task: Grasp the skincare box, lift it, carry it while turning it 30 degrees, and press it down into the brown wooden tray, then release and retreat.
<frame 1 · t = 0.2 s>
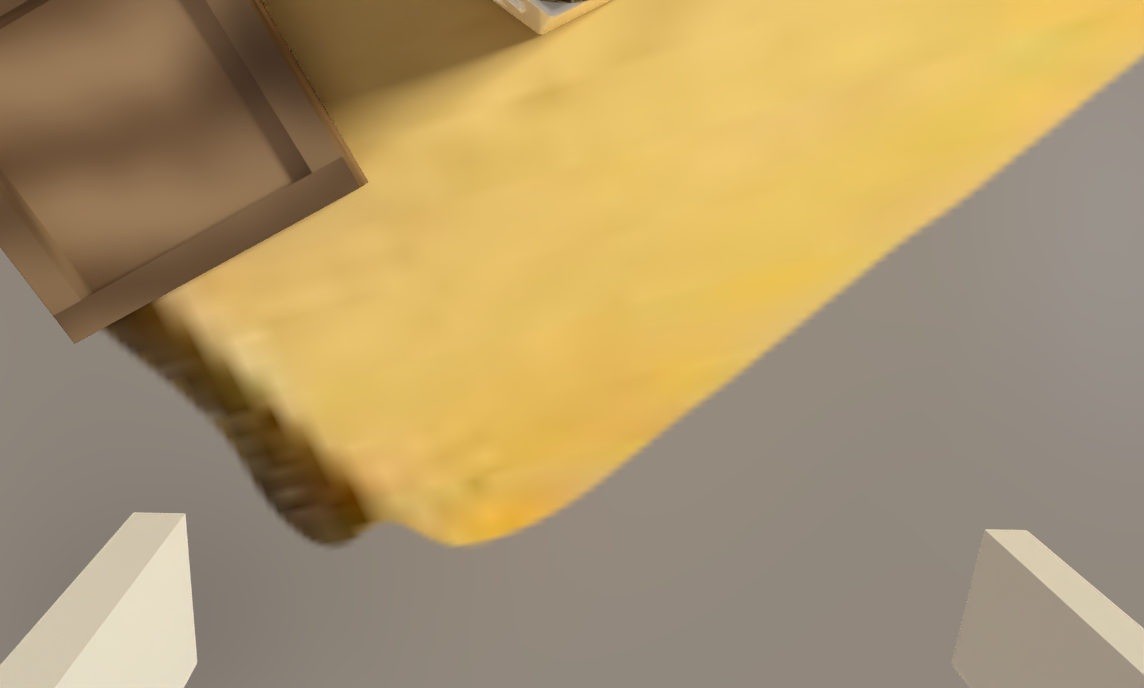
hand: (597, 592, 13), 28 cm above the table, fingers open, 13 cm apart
brown wooden tray: (139, 121, 36), on the table
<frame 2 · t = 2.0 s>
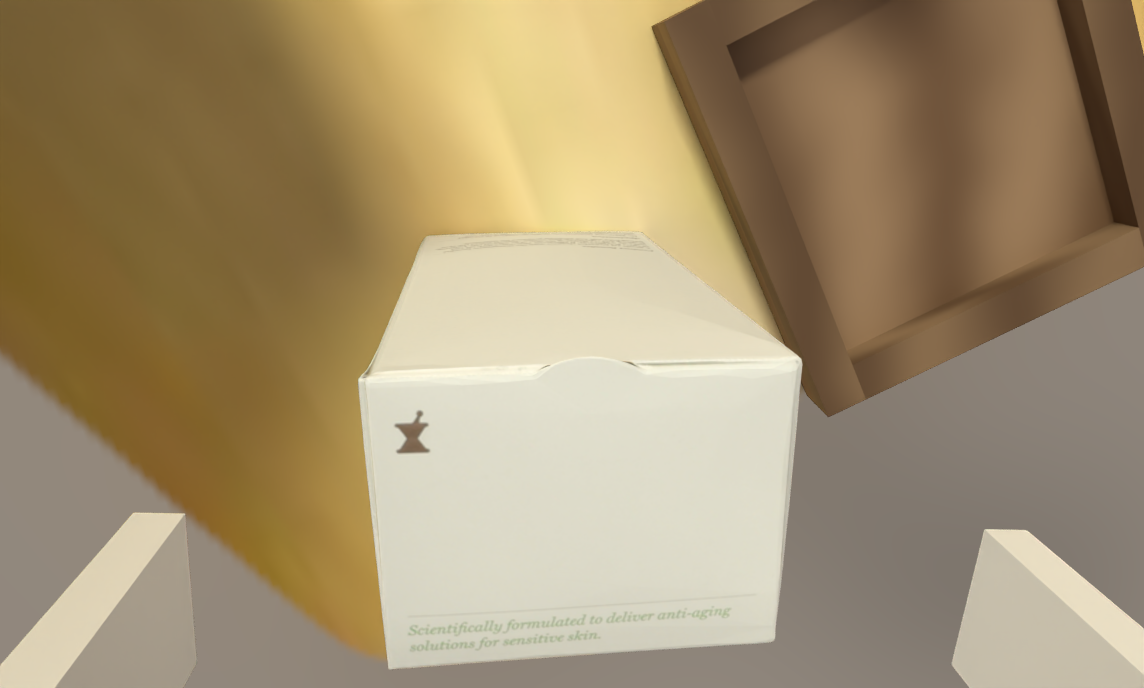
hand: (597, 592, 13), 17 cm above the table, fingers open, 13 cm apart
skincare box: (539, 307, 30), on the table
brown wooden tray: (912, 137, 29), on the table
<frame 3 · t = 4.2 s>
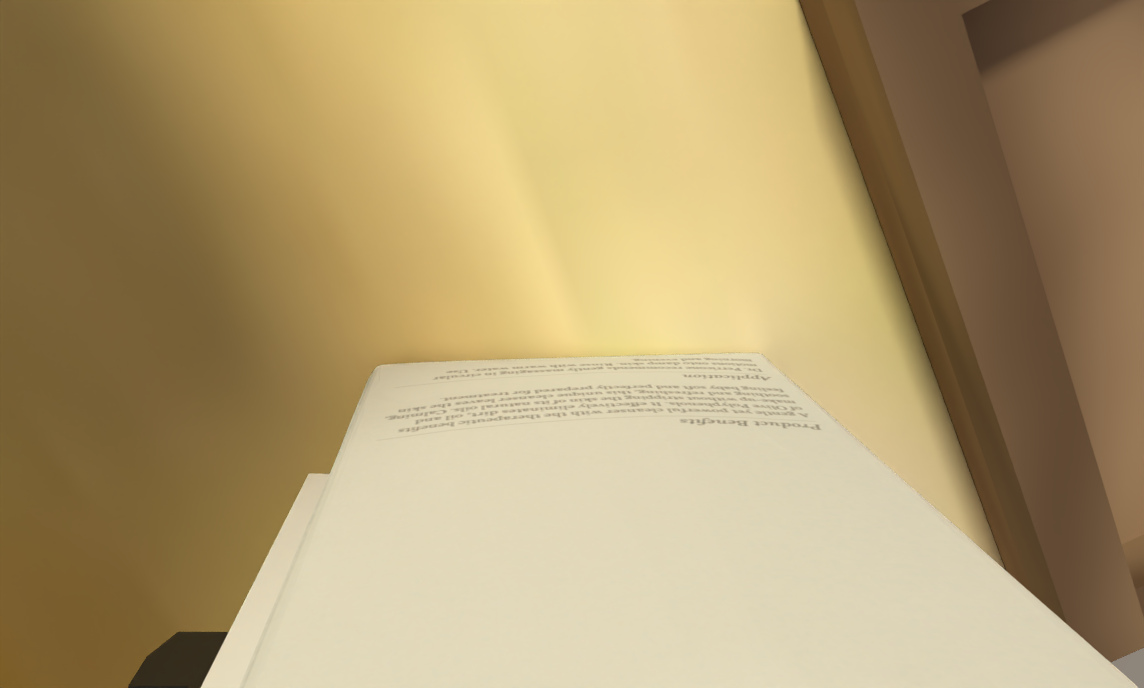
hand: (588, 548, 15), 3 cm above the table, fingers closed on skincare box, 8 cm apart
skincare box: (578, 479, 17), on the table, touching gripper
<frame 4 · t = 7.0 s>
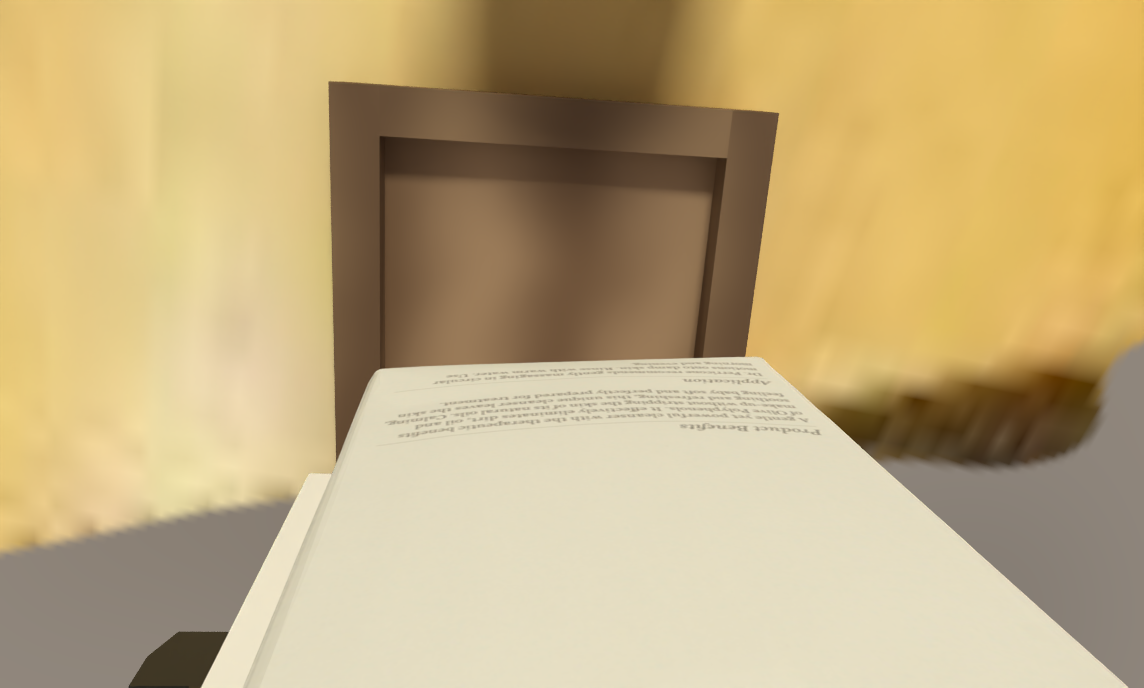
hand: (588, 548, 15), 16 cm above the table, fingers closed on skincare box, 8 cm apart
skincare box: (578, 482, 17), point 13 cm above the table, touching gripper
brown wooden tray: (542, 312, 29), on the table
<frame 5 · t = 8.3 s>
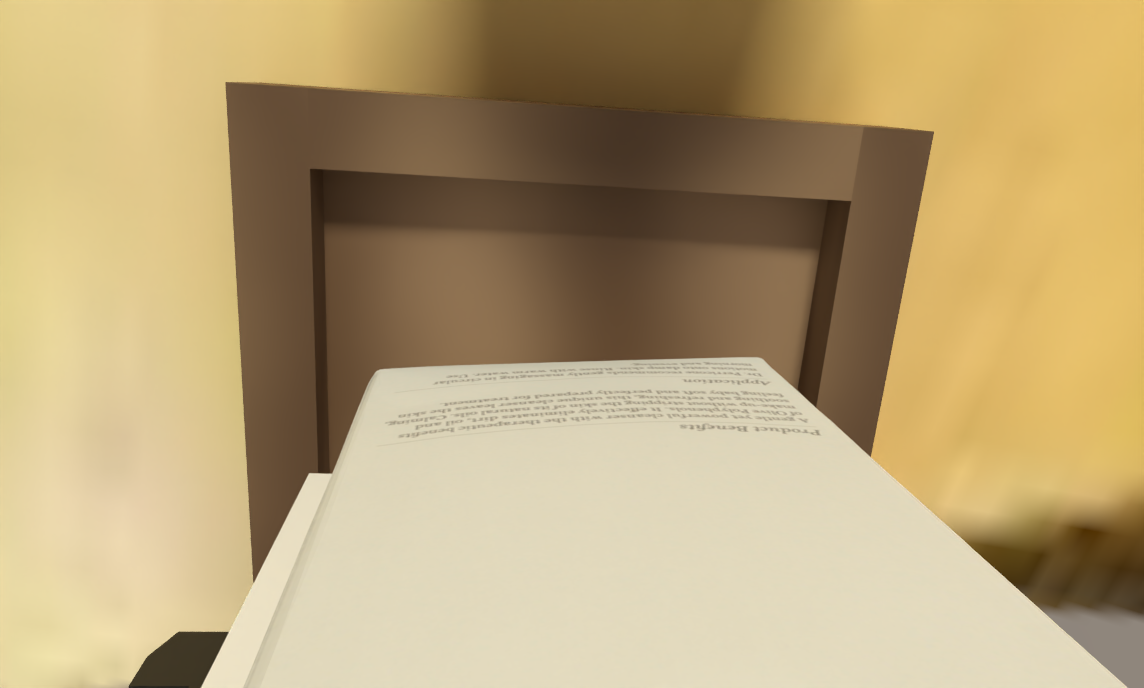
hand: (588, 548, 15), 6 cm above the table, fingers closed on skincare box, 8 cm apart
skincare box: (577, 483, 17), point 3 cm above the table, touching gripper
brown wooden tray: (562, 418, 20), on the table
when the fingers open (4 cm above the table, at t = 9.8 s): skincare box stays where it is, resting on brown wooden tray.
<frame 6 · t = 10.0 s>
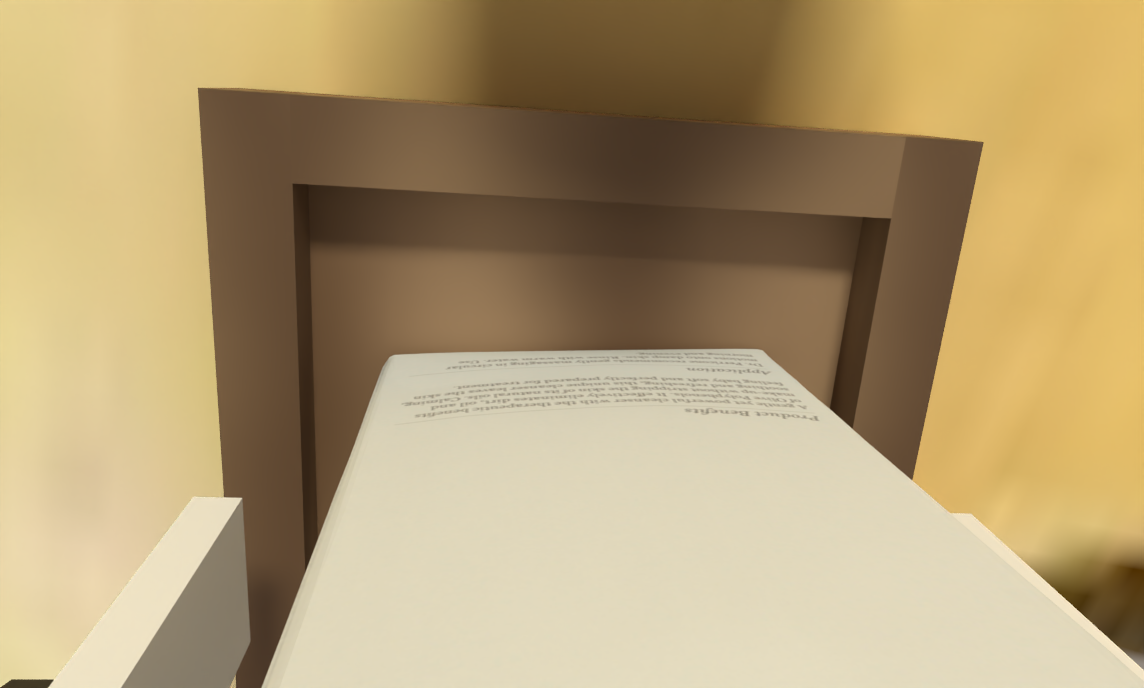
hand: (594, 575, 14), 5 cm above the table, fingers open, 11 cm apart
skincare box: (582, 469, 18), point 1 cm above the table, touching brown wooden tray
brown wooden tray: (570, 451, 19), on the table
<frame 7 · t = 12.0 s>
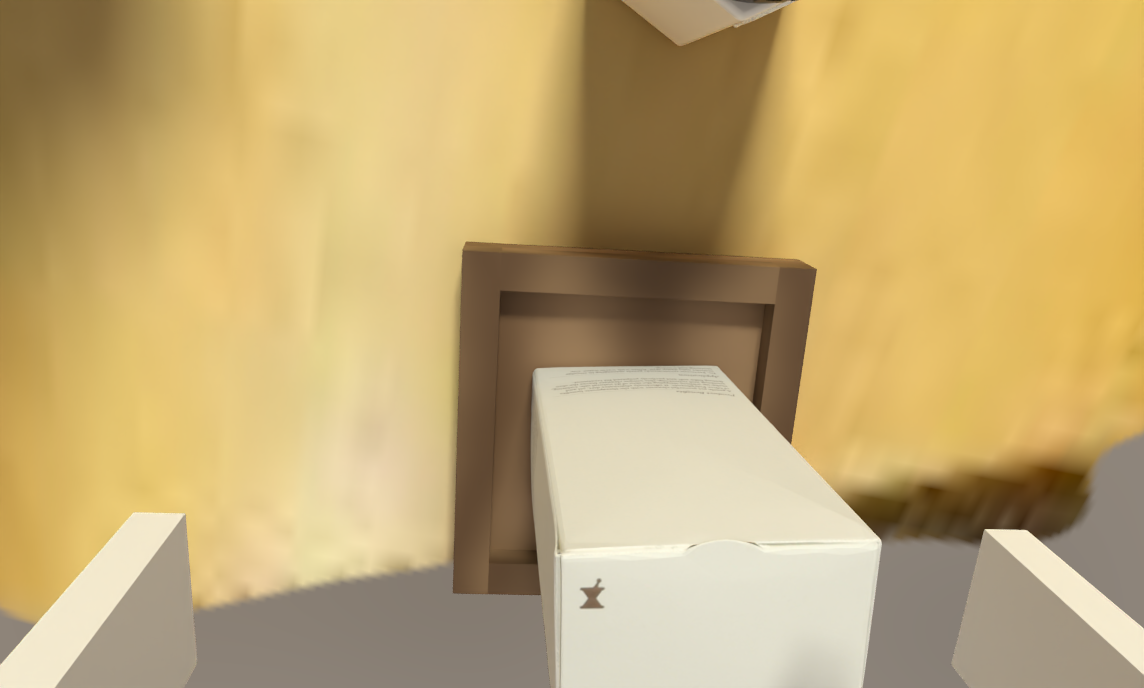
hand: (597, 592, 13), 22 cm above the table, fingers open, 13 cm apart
skincare box: (627, 426, 35), point 1 cm above the table, touching brown wooden tray
brown wooden tray: (620, 419, 36), on the table
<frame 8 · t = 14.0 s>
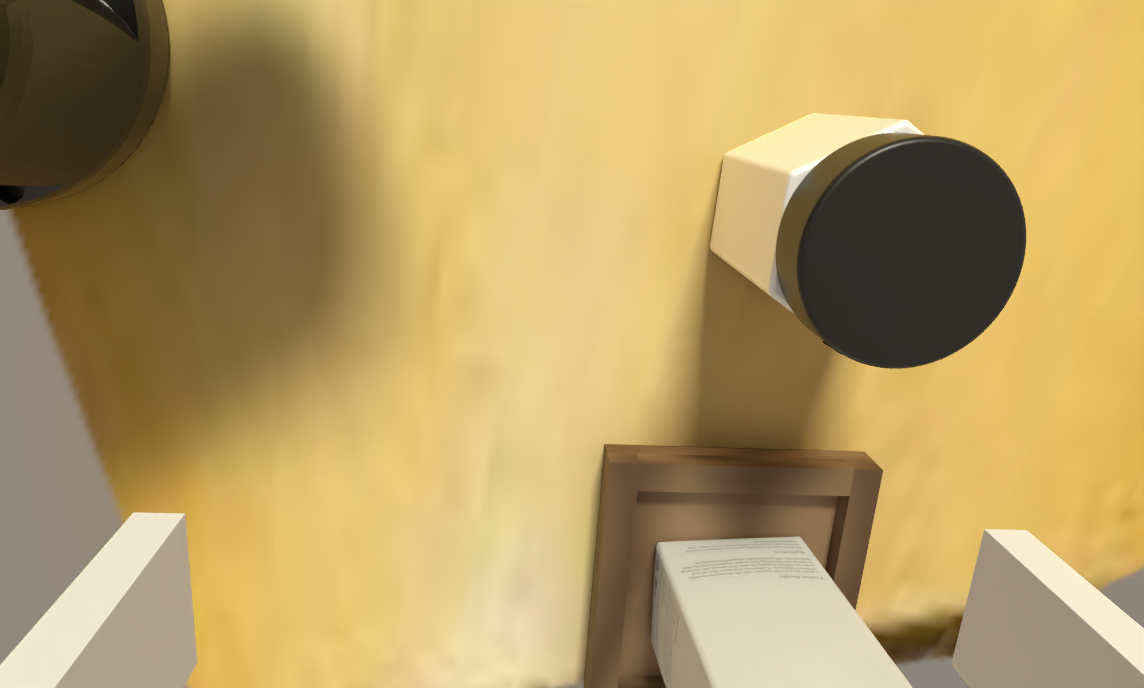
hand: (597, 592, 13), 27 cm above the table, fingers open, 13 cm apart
skincare box: (726, 581, 44), point 1 cm above the table, touching brown wooden tray
jar: (792, 208, 39), on the table
brown wooden tray: (719, 572, 45), on the table
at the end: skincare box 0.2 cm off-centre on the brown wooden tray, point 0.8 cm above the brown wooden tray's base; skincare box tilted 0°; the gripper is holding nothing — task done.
